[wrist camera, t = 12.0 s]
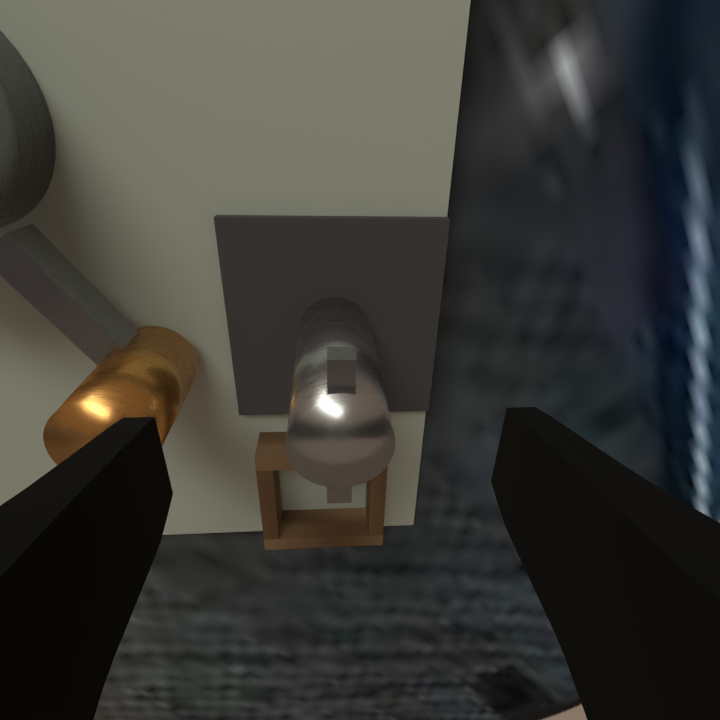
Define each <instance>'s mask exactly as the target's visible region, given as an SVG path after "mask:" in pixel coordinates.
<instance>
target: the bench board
mask: <svg viewBox="0 0 720 720" xmlns="http://www.w3.org/2000/svg"><path fill="white" fill-rule="evenodd" d="M470 2H471V0H0V30H1V31H2V32H3V33H4V35H5V36H6V37H7V38H8V39H9V41H10V42H11V43H12V44H13V45H14V46H15V48H16V49H17V50H18V52H19V53H20V55H21V56H22V57H23V59H24V60H25V62H26V63H27V65H28V66H29V68H30V70H31V71H32V73H33V75H34V77H35V78H36V80H37V82H38V84H39V86H40V89H41V91H42V93H43V95H44V98H45V100H46V103H47V106H48V109H49V112H50V115H51V119H52V124H53V128H54V134H55V145H56V154H55V166H54V171H53V176H52V179H51V182H50V185H49V187H48V190H47V191H46V193H45V195H44V197H43V198H42V200H41V201H40V202H39V203H38V205H37V206H36V207H35V208H34V209H33V210H32V211H31V212H30V213H28V214H27V215H26V216H25V217H23V218H21V219H20V220H18V221H16V222H14V223H12V224H9V225H6V226H4V227H1V228H0V237H1V236H3V235H4V234H5V233H8V232H10V231H13V230H16V229H19V228H21V227H24V226H27V225H29V224H32V223H33V224H34V225H35V226H36V227H37V228H38V229H39V230H40V231H41V232H42V233H43V235H44V236H45V237H46V238H47V239H48V240H49V241H50V242H51V243H52V244H53V245H54V246H55V247H56V248H57V249H58V250H59V251H60V252H61V253H62V254H63V255H64V256H65V257H66V258H67V259H68V260H69V261H70V262H71V263H72V264H73V265H74V266H75V267H76V268H77V269H78V270H79V271H80V272H81V273H82V274H83V275H84V276H85V277H86V278H87V279H88V280H89V281H90V282H91V283H92V285H93V286H94V287H95V288H96V289H97V290H98V291H99V292H100V293H101V294H102V295H103V296H104V297H105V298H106V299H107V300H108V301H109V302H110V303H111V304H112V305H113V306H114V307H115V308H116V309H117V310H118V311H119V312H120V313H121V314H122V315H123V316H124V317H125V318H126V319H127V320H128V321H129V322H130V323H131V324H132V325H133V326H134V327H135V328H138V327H142V326H161V327H165V328H168V329H171V330H173V331H175V332H177V333H178V334H180V335H181V336H183V337H184V338H185V339H186V340H187V341H188V342H189V343H190V344H191V345H192V347H193V348H194V350H195V352H196V354H197V357H198V362H199V370H198V374H197V377H196V379H195V381H194V383H193V385H192V387H191V389H190V391H189V393H188V395H187V397H186V399H185V401H184V403H183V405H182V407H181V409H180V411H179V413H178V415H177V417H176V419H175V421H174V423H173V425H172V428H171V430H170V432H169V434H168V436H167V438H166V440H165V442H164V444H163V446H162V449H163V453H164V457H165V461H166V466H167V470H168V474H169V478H170V482H171V487H172V491H173V496H172V500H171V504H170V508H169V512H168V516H167V520H166V524H165V527H164V531H163V535H171V534H196V533H221V532H247V531H263V528H262V519H261V511H260V502H259V493H258V485H257V476H256V468H255V459H254V458H255V453H256V448H257V443H258V438H259V434H260V432H287V426H288V418H289V414H272V415H239V410H238V403H237V395H236V387H235V379H234V372H233V364H232V356H231V349H230V341H229V333H228V325H227V318H226V310H225V302H224V294H223V287H222V279H221V271H220V264H219V256H218V248H217V240H216V233H215V225H214V217H215V216H216V215H290V216H413V217H447V213H448V203H449V194H450V185H451V176H452V167H453V158H454V148H455V139H456V130H457V121H458V112H459V102H460V93H461V84H462V75H463V66H464V57H465V47H466V38H467V29H468V20H469V11H470ZM96 366H97V365H96V364H95V363H94V362H93V361H92V360H91V359H90V358H89V357H88V356H87V355H85V354H84V353H83V352H82V351H81V350H80V349H79V348H78V347H77V346H76V345H75V344H74V343H73V342H71V341H70V340H69V339H68V338H67V337H66V336H65V335H64V334H63V333H62V332H61V331H60V330H58V329H57V328H56V327H55V326H54V325H53V324H52V323H51V322H50V321H49V320H48V319H47V318H46V317H44V316H43V315H42V314H41V313H40V312H39V311H38V310H37V309H36V308H35V307H34V306H33V305H31V304H30V303H29V302H28V301H27V300H26V299H25V298H24V297H23V296H22V295H21V294H20V293H19V292H17V291H16V290H15V289H14V288H13V287H12V286H11V285H10V284H9V283H8V282H7V281H6V280H5V279H3V278H2V277H1V276H0V506H1V505H2V504H3V503H5V502H6V501H8V500H9V499H11V498H12V497H14V496H15V495H17V494H18V493H20V492H21V491H23V490H24V489H25V488H27V487H28V486H30V485H31V484H32V483H34V482H35V481H37V480H38V479H39V478H41V477H42V476H43V475H45V474H46V473H47V472H49V471H50V470H52V469H53V468H54V467H56V466H57V464H56V463H55V462H54V461H53V460H52V459H51V457H50V456H49V454H48V452H47V450H46V448H45V445H44V441H43V432H44V427H45V425H46V423H47V421H48V419H49V418H50V417H51V416H52V415H53V414H54V412H55V411H56V410H57V409H58V408H59V407H60V406H61V405H62V404H63V403H64V402H65V400H66V399H67V398H68V397H69V396H70V395H71V394H72V393H73V392H74V391H75V389H76V388H77V387H78V386H79V385H80V384H81V383H82V382H83V381H84V380H85V378H86V377H87V376H88V375H89V374H90V373H91V372H92V371H93V370H94V369H95V368H96ZM425 414H426V411H408V412H390V417H391V421H392V426H393V430H394V435H395V451H394V454H393V457H392V459H391V461H390V463H389V464H388V468H387V484H386V499H385V515H384V526H398V525H414V515H415V506H416V497H417V488H418V479H419V470H420V460H421V451H422V442H423V433H424V424H425ZM279 479H280V491H281V503H282V510H308V509H336V508H363V507H366V483H367V482H365V483H362V484H360V485H356V486H352V502H351V503H327V487H325V486H321V485H318V484H315V483H312V482H310V481H308V480H307V479H305V478H303V477H302V476H301V475H299V474H298V473H297V472H296V471H295V470H279Z"/></svg>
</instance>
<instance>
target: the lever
mask: <svg viewBox="0 0 720 720" xmlns="http://www.w3.org/2000/svg"><path fill="white" fill-rule="evenodd" d="M0 276H1V277H2V278H3V279H5V280H6V281H7V282H8V283H9V284H10V285H11V286H12V287H13V288H14V289H15V290H16V291H17V292H19V293H20V294H21V295H22V296H23V297H24V298H25V299H26V300H27V301H28V302H29V303H30V304H31V305H33V306H34V307H35V308H36V309H37V310H38V311H39V312H40V313H41V314H42V315H43V316H44V317H46V318H47V319H48V320H49V321H50V322H51V323H52V324H53V325H54V326H55V327H56V328H57V329H58V330H60V331H61V332H62V333H63V334H64V335H65V336H66V337H67V338H68V339H69V340H70V341H71V342H73V343H74V344H75V345H76V346H77V347H78V348H79V349H80V350H81V351H82V352H83V353H84V354H85V355H87V356H88V357H89V358H90V359H91V360H92V361H93V362H94V363H95V364H96V365H97V366H96V368H95V369H94V370H93V371H92V372H91V373H90V374H89V375H88V376H87V377H86V378H85V380H84V381H83V382H82V383H81V384H80V385H79V386H78V387H77V388H76V389H75V391H74V392H73V393H72V394H71V395H70V396H69V397H68V398H67V399H66V400H65V402H64V403H63V404H62V405H61V406H60V407H59V408H58V409H57V410H56V411H55V412H54V414H53V415H52V416H51V417H50V418H49V419H48V421H47V423H46V425H45V427H44V432H43V441H44V445H45V448H46V450H47V452H48V454H49V456H50V457H51V459H52V460H53V461H54V462H55V463H56V464H57V465H58V464H60V463H61V462H62V461H64V460H65V459H67V458H68V457H69V456H71V455H72V454H73V453H75V452H76V451H77V450H79V449H80V448H81V447H83V446H84V445H85V444H87V443H88V442H90V441H91V440H92V439H94V438H95V437H96V436H98V435H99V434H100V433H102V432H103V431H105V430H106V429H107V428H109V427H110V426H112V425H113V424H115V423H116V422H118V421H119V420H121V419H122V418H133V417H155V419H156V423H157V428H158V432H159V436H160V440H161V445H162V446H163V444H164V442H165V440H166V438H167V436H168V434H169V432H170V430H171V428H172V425H173V423H174V421H175V419H176V417H177V415H178V413H179V411H180V409H181V407H182V405H183V403H184V401H185V399H186V397H187V395H188V393H189V391H190V389H191V387H192V385H193V383H194V381H195V379H196V377H197V374H198V370H199V362H198V357H197V354H196V352H195V350H194V348H193V347H192V345H191V344H190V343H189V342H188V341H187V340H186V339H185V338H184V337H183V336H181V335H180V334H178V333H177V332H175V331H173V330H171V329H168V328H165V327H161V326H142V327H138V328H135V327H134V326H133V325H132V324H131V323H130V322H129V321H128V320H127V319H126V318H125V317H124V316H123V315H122V314H121V313H120V312H119V311H118V310H117V309H116V308H115V307H114V306H113V305H112V304H111V303H110V302H109V301H108V300H107V299H106V298H105V297H104V296H103V295H102V294H101V293H100V292H99V291H98V290H97V289H96V288H95V287H94V286H93V285H92V283H91V282H90V281H89V280H88V279H87V278H86V277H85V276H84V275H83V274H82V273H81V272H80V271H79V270H78V269H77V268H76V267H75V266H74V265H73V264H72V263H71V262H70V261H69V260H68V259H67V258H66V257H65V256H64V255H63V254H62V253H61V252H60V251H59V250H58V249H57V248H56V247H55V246H54V245H53V244H52V243H51V242H50V241H49V240H48V239H47V238H46V237H45V236H44V235H43V233H42V232H41V231H40V230H39V229H38V228H37V227H36V226H35V225H34V224H33V223H32V224H29V225H27V226H24V227H21V228H19V229H16V230H13V231H10V232H8V233H5V234H4V235H3V236H1V237H0Z"/></svg>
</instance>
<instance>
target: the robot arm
mask: <svg viewBox="0 0 720 720" xmlns="http://www.w3.org/2000/svg"><path fill="white" fill-rule="evenodd" d="M491 482H492V485H493V489H494V492H495V495H496V499H497V502H498V505H499V508H500V511H501V514H502V517H503V520H504V523H505V526H506V528H507V531H508V533H509V535H510V537H511V540H512V542H513V544H514V546H515V548H516V550H517V553H518V555H519V557H520V559H521V561H522V564H523V566H524V568H525V570H526V572H527V574H528V576H529V578H530V581H531V583H532V585H533V587H534V589H535V591H536V593H537V596H538V598H539V600H540V602H541V604H542V606H543V608H544V611H545V613H546V615H547V617H548V619H549V621H550V623H551V626H552V628H553V630H554V632H555V634H556V637H557V639H558V642H559V644H560V646H561V649H562V651H563V653H564V656H565V658H566V661H567V664H568V667H569V670H570V672H571V675H572V678H573V681H574V683H575V686H576V689H577V692H578V695H579V697H580V700H581V703H582V706H583V708H584V711H585V714H586V717H587V720H720V523H719V522H717V521H715V520H713V519H712V518H710V517H708V516H706V515H704V514H703V513H701V512H699V511H697V510H696V509H694V508H692V507H690V506H689V505H687V504H685V503H684V502H682V501H680V500H679V499H677V498H675V497H674V496H672V495H670V494H669V493H667V492H665V491H664V490H662V489H660V488H659V487H657V486H655V485H654V484H652V483H650V482H649V481H647V480H646V479H644V478H643V477H641V476H639V475H638V474H636V473H635V472H633V471H632V470H630V469H628V468H627V467H625V466H624V465H622V464H621V463H619V462H618V461H616V460H615V459H613V458H612V457H610V456H609V455H607V454H606V453H604V452H603V451H601V450H600V449H598V448H597V447H595V446H594V445H592V444H591V443H589V442H588V441H586V440H585V439H583V438H582V437H580V436H579V435H577V434H576V433H575V432H573V431H572V430H570V429H569V428H567V427H566V426H564V425H563V424H561V423H560V422H558V421H557V420H555V419H554V418H552V417H550V416H549V415H547V414H546V413H544V412H542V411H541V410H539V409H537V408H535V407H522V408H507V409H506V414H505V419H504V423H503V428H502V433H501V438H500V442H499V447H498V452H497V457H496V461H495V466H494V471H493V476H492V480H491ZM172 496H173V491H172V487H171V482H170V478H169V474H168V470H167V466H166V461H165V457H164V453H163V449H162V445H161V440H160V436H159V432H158V428H157V423H156V419H155V417H133V418H122V419H121V420H119V421H118V422H116V423H115V424H113V425H112V426H110V427H109V428H107V429H106V430H105V431H103V432H102V433H100V434H99V435H98V436H96V437H95V438H94V439H92V440H91V441H90V442H88V443H87V444H85V445H84V446H83V447H81V448H80V449H79V450H77V451H76V452H75V453H73V454H72V455H71V456H69V457H68V458H67V459H65V460H64V461H62V462H61V463H60V464H58V465H57V466H56V467H54V468H53V469H52V470H50V471H49V472H47V473H46V474H45V475H43V476H42V477H41V478H39V479H38V480H37V481H35V482H34V483H32V484H31V485H30V486H28V487H27V488H25V489H24V490H23V491H21V492H20V493H18V494H17V495H15V496H14V497H12V498H11V499H9V500H8V501H6V502H5V503H3V504H2V505H1V506H0V720H93V719H94V715H95V712H96V709H97V705H98V702H99V699H100V696H101V692H102V689H103V686H104V683H105V681H106V678H107V675H108V672H109V670H110V667H111V664H112V661H113V659H114V656H115V654H116V651H117V649H118V646H119V644H120V641H121V639H122V636H123V634H124V631H125V629H126V627H127V624H128V622H129V619H130V617H131V614H132V612H133V609H134V607H135V604H136V602H137V599H138V597H139V595H140V592H141V590H142V587H143V585H144V582H145V580H146V577H147V575H148V572H149V570H150V567H151V565H152V562H153V560H154V557H155V555H156V552H157V549H158V547H159V544H160V542H161V538H162V535H163V531H164V527H165V524H166V520H167V516H168V512H169V508H170V504H171V500H172Z"/></svg>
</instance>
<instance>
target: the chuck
mask: <svg viewBox="0 0 720 720" xmlns="http://www.w3.org/2000/svg"><path fill="white" fill-rule="evenodd" d="M55 154H56V145H55V134H54V128H53V124H52V119H51V115H50V112H49V109H48V106H47V103H46V100H45V98H44V95H43V93H42V91H41V89H40V86H39V84H38V82H37V80H36V78H35V77H34V75H33V73H32V71H31V70H30V68H29V66H28V65H27V63H26V62H25V60H24V59H23V57H22V56H21V55H20V53H19V52H18V50H17V49H16V48H15V46H14V45H13V44H12V43H11V42H10V41H9V39H8V38H7V37H6V36H5V35H4V33H3V32H2V31H1V30H0V228H1V227H4V226H6V225H9V224H12V223H14V222H16V221H18V220H20V219H21V218H23V217H25V216H26V215H27V214H28V213H30V212H31V211H32V210H33V209H34V208H35V207H36V206H37V205H38V203H39V202H40V201H41V200H42V198H43V197H44V195H45V193H46V191H47V190H48V187H49V185H50V182H51V179H52V176H53V171H54V166H55Z"/></svg>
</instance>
